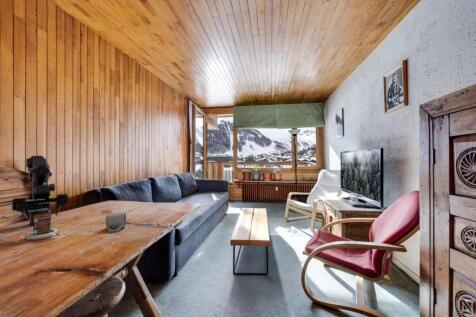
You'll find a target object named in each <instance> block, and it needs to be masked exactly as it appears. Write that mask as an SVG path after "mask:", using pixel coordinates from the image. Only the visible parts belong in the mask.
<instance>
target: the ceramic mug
mask: <svg viewBox="0 0 476 317" xmlns="http://www.w3.org/2000/svg"><path fill="white" fill-rule="evenodd" d="M126 226H127V214H126V212H125V211H121V212H115V213H110V214H107V215H106V218H105V227H106V229H107V231H108V232H109V233H116V232H119V231H120V230H121V229H123V228H124V229H125V228H126Z"/></svg>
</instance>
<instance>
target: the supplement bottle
mask: <svg viewBox="0 0 476 317" xmlns="http://www.w3.org/2000/svg"><path fill="white" fill-rule="evenodd" d="M32 227H33V229H32V232H33V235H43V234H48V233H51V229H52V213H51V212H50V210H49V209H48V208H43V209H38V210H37V214H36V215H34V222H33V225H32Z"/></svg>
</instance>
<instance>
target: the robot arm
mask: <svg viewBox="0 0 476 317" xmlns="http://www.w3.org/2000/svg"><path fill="white" fill-rule="evenodd" d="M25 162H26V164H25V166H26V167H25V168H27V172H28V179H29V180H30V181H31V194H30V195H29V197H28V199H26V197H17V198H15V197H14V198H13V199H12V200H11V202H12V203H11V211H14V212H19V213H21V214H22V215H23V216H24V217H25V218H26V219H27V220H28V221H29V222H28V226H33V222H34V215H36V214H37V210H38V209H43V208H48V209H49V211H51V208H50V207H51V203H53V204H54V203H55V212H54V213H55V216H58V214H59V210H60V209H61V207H64V206H65V205H67V204H68V199H69V194H67V193H58V194H56V197H51V192H55V190H56V184H55V183H49V182H48V181H49V180H50V178H51V177H52V176H53V173H52V172H51V170H50V169H49V168H48V167H47V164H48V163H47V159H46V158H45V157H44V155H31V156H30V157H27V158H26V160H25Z"/></svg>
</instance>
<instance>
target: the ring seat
mask: <svg viewBox="0 0 476 317" xmlns="http://www.w3.org/2000/svg"><path fill="white" fill-rule="evenodd" d="M59 234H60V233H59V230H58V229H57V228H51V233H48V234H43V235H33V231H31V232H28V233H26V236H25V237H24V239H25V240H26V241H40V240H46V239H49V238H53V237H56V236H58V235H59Z"/></svg>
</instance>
